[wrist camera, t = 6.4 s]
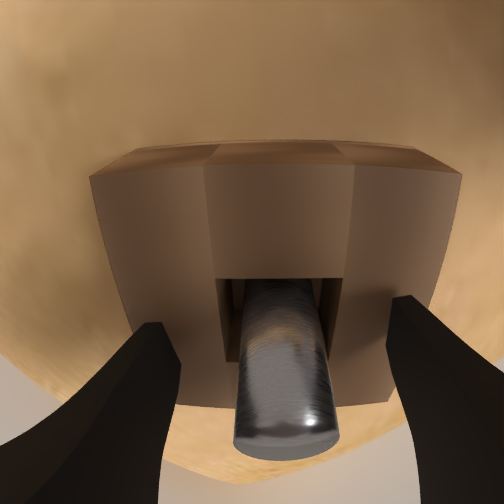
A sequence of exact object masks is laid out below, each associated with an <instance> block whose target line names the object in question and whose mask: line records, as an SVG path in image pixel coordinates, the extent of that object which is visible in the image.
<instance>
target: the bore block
mask: <svg viewBox="0 0 504 504" xmlns="http://www.w3.org/2000/svg"><path fill="white" fill-rule="evenodd" d="M89 179H90V184H91V189H92V194H93V198H94V203H95V207H96V212H97V216H98V220H99V224H100V228H101V232H102V236H103V240H104V244H105V248H106V251H107V255H108V258H109V262H110V265H111V269H112V272H113V275H114V279H115V282H116V285H117V288H118V291H119V294H120V297H121V300H122V303H123V306H124V309H125V312H126V315H127V318H128V321H129V324H130V326H131V329H132V332H133V334H134V333H135V332H136V331H137V330H138V329H139V328H140V327H141V326H142V325H143V324H144V323H145V322H162V324H163V326H164V328H165V330H166V332H167V335H168V337H169V339H170V341H171V343H172V345H173V348H174V350H175V352H176V354H177V356H178V358H179V360H180V362H181V364H182V366H181V375H180V383H179V391H178V395H177V399H176V403H175V404H179V405H189V406H200V407H214V408H232V409H236V397H237V383H238V370H239V356H240V342H241V329H242V316H243V302H244V289H245V279H288V278H311V281H312V286H313V291H314V295H315V300H316V305H317V310H318V315H319V320H320V325H321V330H322V335H323V340H324V345H325V351H326V356H327V362H328V367H329V373H330V379H331V384H332V390H333V396H334V402H335V407H342V406H353V405H363V404H372V403H380V402H388V400H389V398H390V396H391V394H392V392H393V390H394V388H395V386H396V385H395V382H394V379H393V376H392V373H391V368H390V364H389V360H388V355H387V351H386V346H385V344H386V338H387V332H388V326H389V320H390V313H391V305H392V298H394V297H400V296H406V295H412V296H413V297H414V298H416V299H417V300H418V301H419V302H420V303H421V304H422V305H423V306H425V307H426V308H427V309H428V307H429V304H430V301H431V298H432V295H433V292H434V289H435V286H436V283H437V280H438V277H439V273H440V270H441V267H442V263H443V260H444V256H445V253H446V249H447V245H448V241H449V237H450V233H451V229H452V225H453V220H454V216H455V211H456V206H457V201H458V196H459V190H460V185H461V179H462V174H461V173H459V172H458V171H456V170H454V169H452V168H451V167H449V166H447V165H445V164H444V163H442V162H440V161H438V160H436V159H435V158H433V157H431V156H429V155H427V154H425V153H423V152H421V151H419V150H417V149H415V148H413V147H410V146H400V145H390V144H378V143H365V142H348V141H326V140H243V141H220V142H204V143H190V144H178V145H167V146H158V147H149V148H140V149H136V150H134V151H132V152H130V153H129V154H127V155H125V156H123V157H121V158H120V159H118V160H116V161H114V162H113V163H111V164H109V165H108V166H106V167H104V168H102V169H101V170H99V171H97V172H96V173H94V174H93V175H91V176H89Z"/></svg>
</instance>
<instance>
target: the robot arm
mask: <svg viewBox="0 0 504 504" xmlns="http://www.w3.org/2000/svg"><path fill="white" fill-rule="evenodd" d="M385 346H386V351H387V355H388V360H389V364H390V368H391V373H392V376H393V379H394V382H395V385H396V388H397V391H398V394H399V397H400V399H401V402H402V405H403V408H404V411H405V415H406V418H407V421H408V424H409V427H410V430H411V434H412V438H413V442H414V447H415V453H416V459H417V466H418V475H419V484H420V497H421V504H504V373H503V372H502V371H501V370H499V369H498V368H496V367H495V366H494V365H492V364H491V363H490V362H488V361H487V360H486V359H484V358H483V357H482V356H481V355H479V354H478V353H477V352H476V351H474V350H473V349H472V348H471V347H470V346H468V345H467V344H466V343H465V342H464V341H462V340H461V339H460V338H459V337H458V336H457V335H456V334H454V333H453V332H452V331H451V330H450V329H449V328H448V327H447V326H445V325H444V324H443V323H442V322H441V321H440V320H439V319H438V318H437V317H436V316H434V315H433V314H432V313H431V312H430V311H429V310H428V309H427V308H426V307H425V306H423V305H422V304H421V303H420V302H419V301H418V300H417V299H416V298H414V297H413V296H412V295H406V296H400V297H394V298H392V305H391V313H390V320H389V326H388V332H387V338H386V344H385ZM181 366H182V364H181V362H180V360H179V358H178V356H177V354H176V352H175V350H174V348H173V345H172V343H171V341H170V339H169V337H168V335H167V332H166V330H165V328H164V326H163V324H162V322H145V323H144V324H143V325H142V326H141V327H140V328H139V329H138V330H137V331H136V332H135V333H134V334H133V335H132V336H131V337H130V338H129V339H128V340H127V341H126V342H125V343H124V344H123V346H122V347H121V348H120V349H119V350H118V351H117V352H116V353H115V354H114V355H113V356H112V357H111V358H110V360H109V361H108V362H107V363H106V364H105V365H104V366H103V367H102V368H101V369H100V370H99V371H98V372H97V373H96V374H95V375H94V376H93V377H92V378H91V379H90V380H89V381H88V382H87V383H86V384H85V385H84V386H83V387H82V388H81V389H80V390H79V391H78V392H77V393H76V394H75V395H74V396H72V397H71V398H70V399H69V400H68V401H67V402H65V403H64V404H63V405H62V406H61V407H60V408H58V409H57V410H56V411H55V412H54V413H52V414H51V415H49V416H48V417H46V418H45V419H44V420H42V421H41V422H40V423H38V424H37V425H35V426H34V427H32V428H31V429H29V430H28V431H26V432H25V433H23V434H21V435H19V436H18V437H16V438H14V439H12V440H10V441H9V442H7V443H5V444H3V445H1V446H0V504H158V491H159V490H158V489H159V478H160V469H161V461H162V456H163V451H164V446H165V442H166V438H167V434H168V430H169V427H170V423H171V419H172V415H173V411H174V407H175V403H176V399H177V395H178V391H179V383H180V375H181Z"/></svg>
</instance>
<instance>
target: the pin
mask: <svg viewBox="0 0 504 504" xmlns="http://www.w3.org/2000/svg"><path fill="white" fill-rule="evenodd" d="M339 436H340V435H339V428H338V421H337V415H336V409H335V402H334V396H333V390H332V384H331V379H330V373H329V367H328V362H327V356H326V351H325V345H324V340H323V335H322V330H321V325H320V320H319V315H318V310H317V305H316V300H315V295H314V291H313V286H312V281H311V278H288V279H245V289H244V302H243V316H242V329H241V342H240V356H239V370H238V383H237V397H236V411H235V425H234V439H233V444H234V446H235V448H236V449H237V450H238V451H240V452H241V453H243V454H245V455H248V456H250V457H254V458H258V459H263V460H273V461H287V460H297V459H303V458H308V457H311V456H315V455H318V454H320V453H323V452H325V451H327V450H328V449H330V448H331V447H333V446H334V445H335V444H336V443H337V442H338V440H339Z"/></svg>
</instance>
